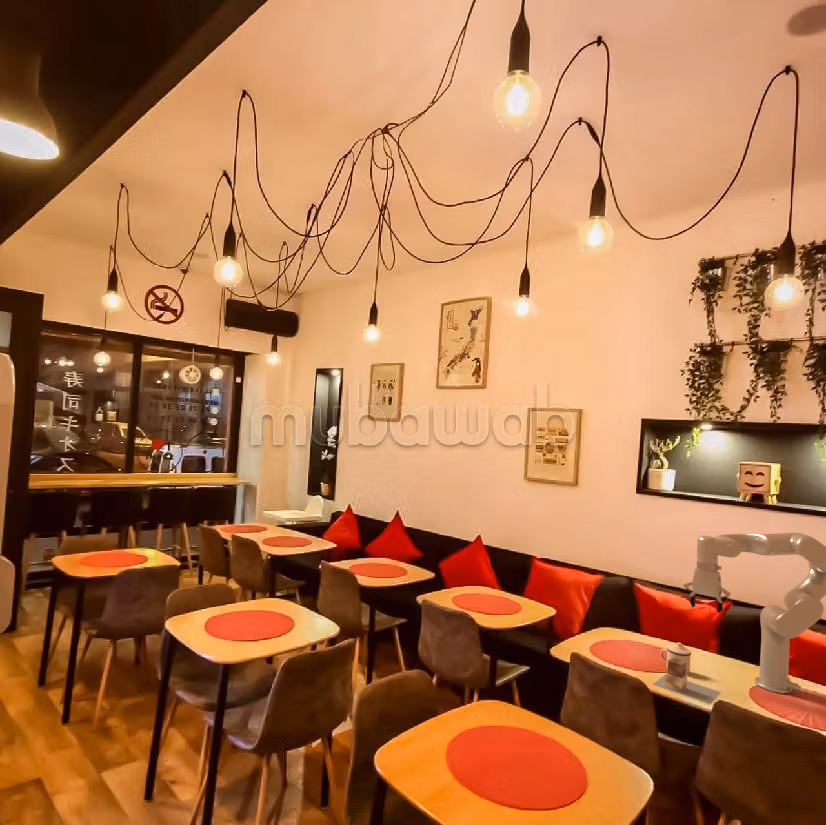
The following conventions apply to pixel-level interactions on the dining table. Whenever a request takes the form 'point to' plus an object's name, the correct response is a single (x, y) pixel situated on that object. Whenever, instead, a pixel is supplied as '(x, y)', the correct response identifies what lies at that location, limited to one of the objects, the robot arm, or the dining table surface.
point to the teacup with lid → (678, 654)
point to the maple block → (675, 682)
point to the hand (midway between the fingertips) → (706, 609)
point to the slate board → (693, 691)
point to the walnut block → (676, 667)
